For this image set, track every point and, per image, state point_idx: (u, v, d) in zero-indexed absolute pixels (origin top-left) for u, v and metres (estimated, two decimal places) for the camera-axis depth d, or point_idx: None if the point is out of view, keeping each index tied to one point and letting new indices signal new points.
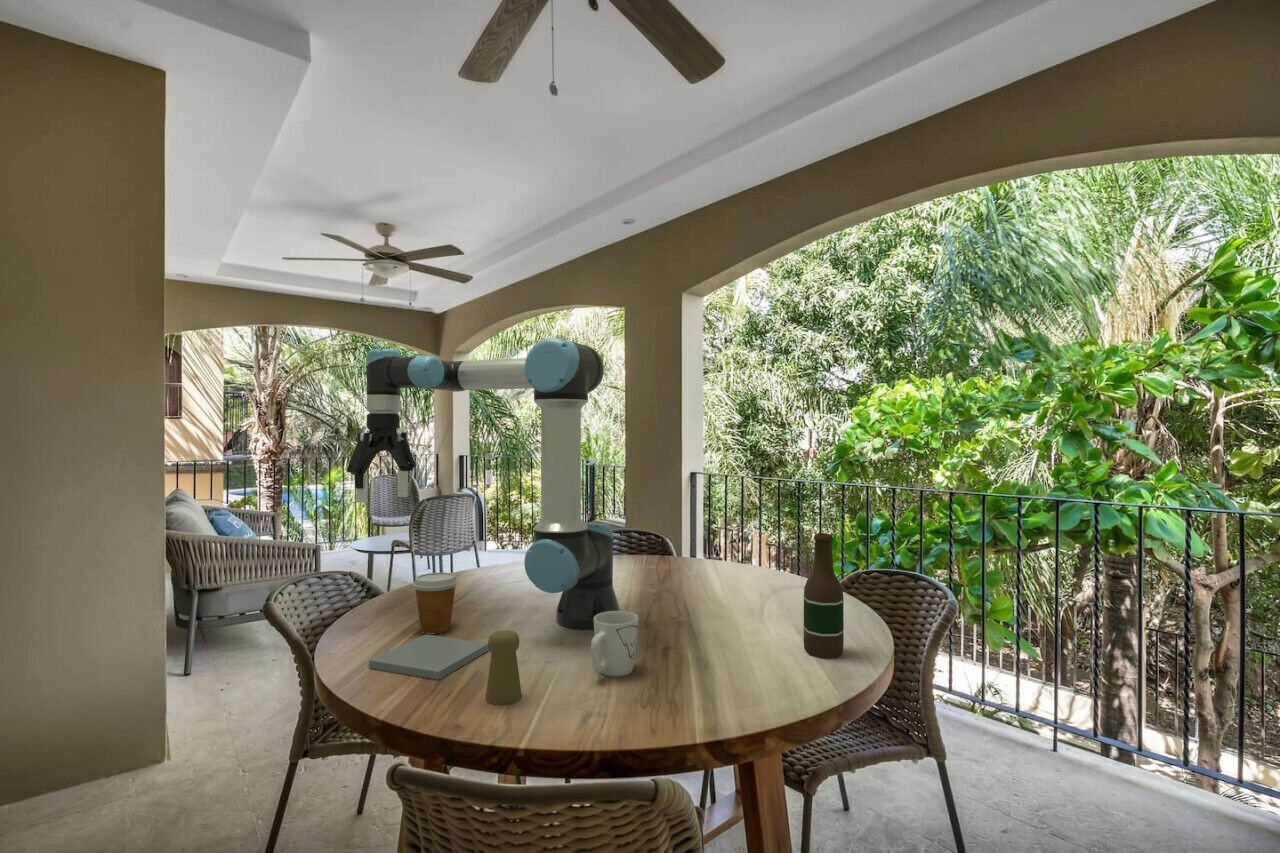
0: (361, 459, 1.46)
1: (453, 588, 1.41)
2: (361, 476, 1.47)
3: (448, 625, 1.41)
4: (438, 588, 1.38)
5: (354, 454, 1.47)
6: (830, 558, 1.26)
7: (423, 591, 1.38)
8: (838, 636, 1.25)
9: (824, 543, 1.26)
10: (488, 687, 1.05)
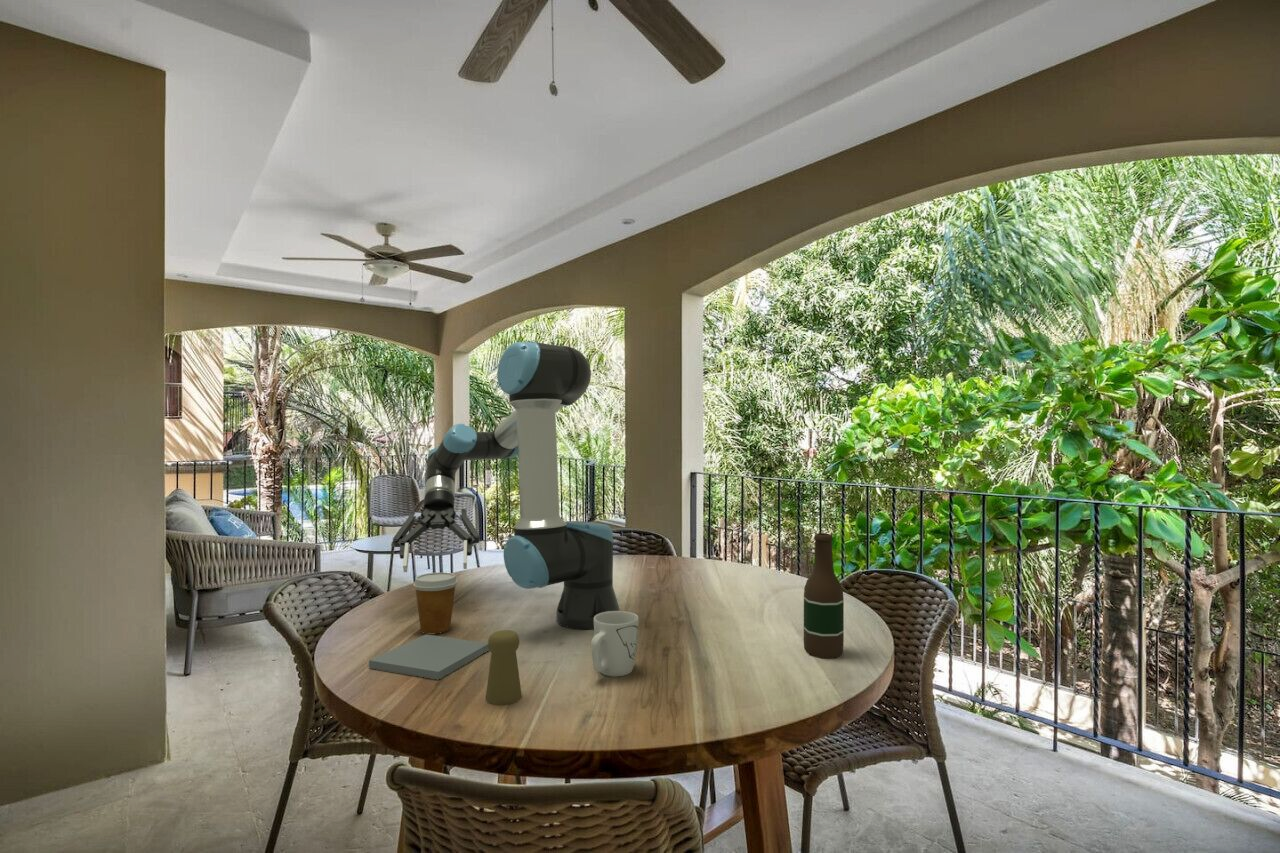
0: (402, 530, 1.54)
1: (453, 588, 1.41)
2: (402, 545, 1.52)
3: (448, 625, 1.41)
4: (438, 588, 1.38)
5: None
6: (830, 558, 1.26)
7: (423, 591, 1.38)
8: (838, 636, 1.25)
9: (824, 543, 1.26)
10: (488, 687, 1.05)
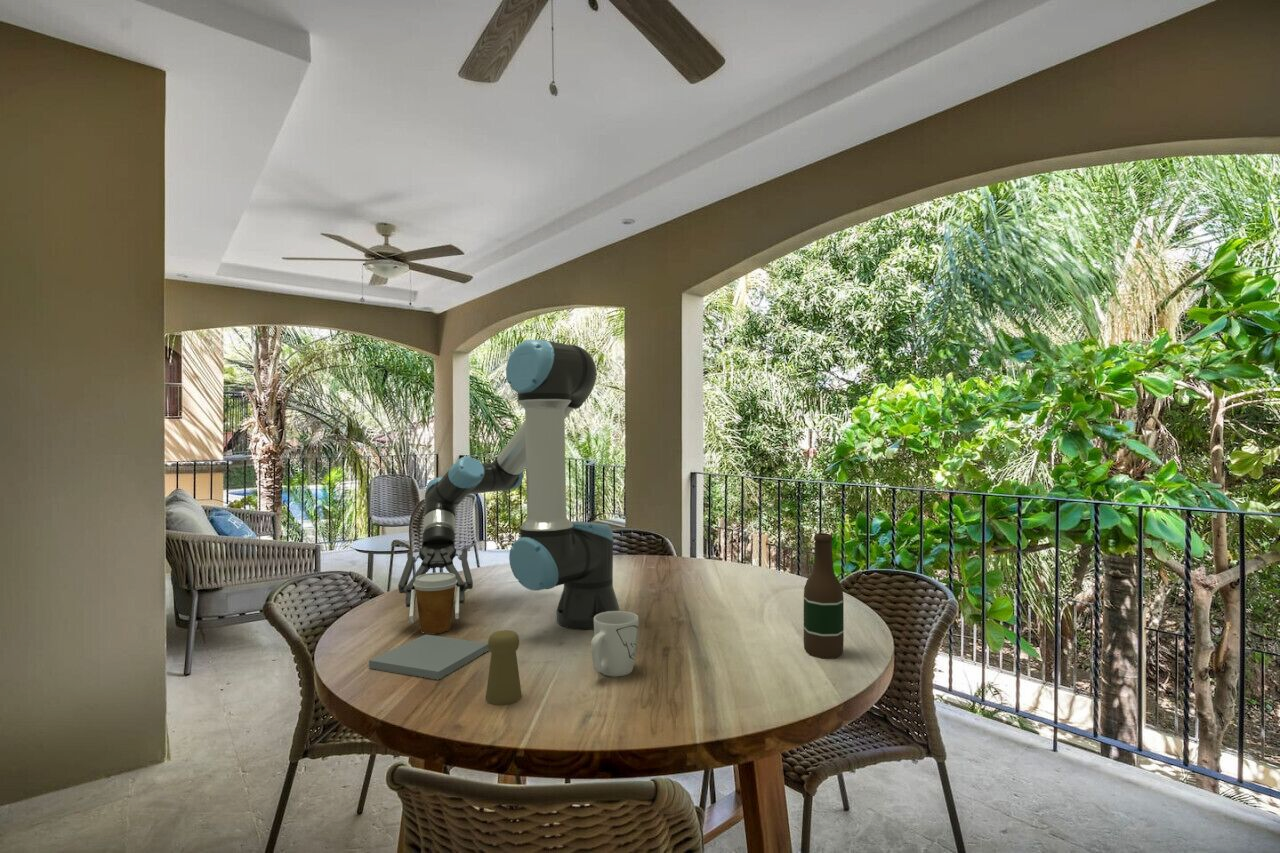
0: (405, 575, 1.43)
1: (453, 588, 1.41)
2: (409, 592, 1.41)
3: (448, 625, 1.41)
4: (438, 588, 1.38)
5: None
6: (830, 558, 1.26)
7: (423, 591, 1.38)
8: (838, 636, 1.25)
9: (824, 543, 1.26)
10: (488, 687, 1.05)
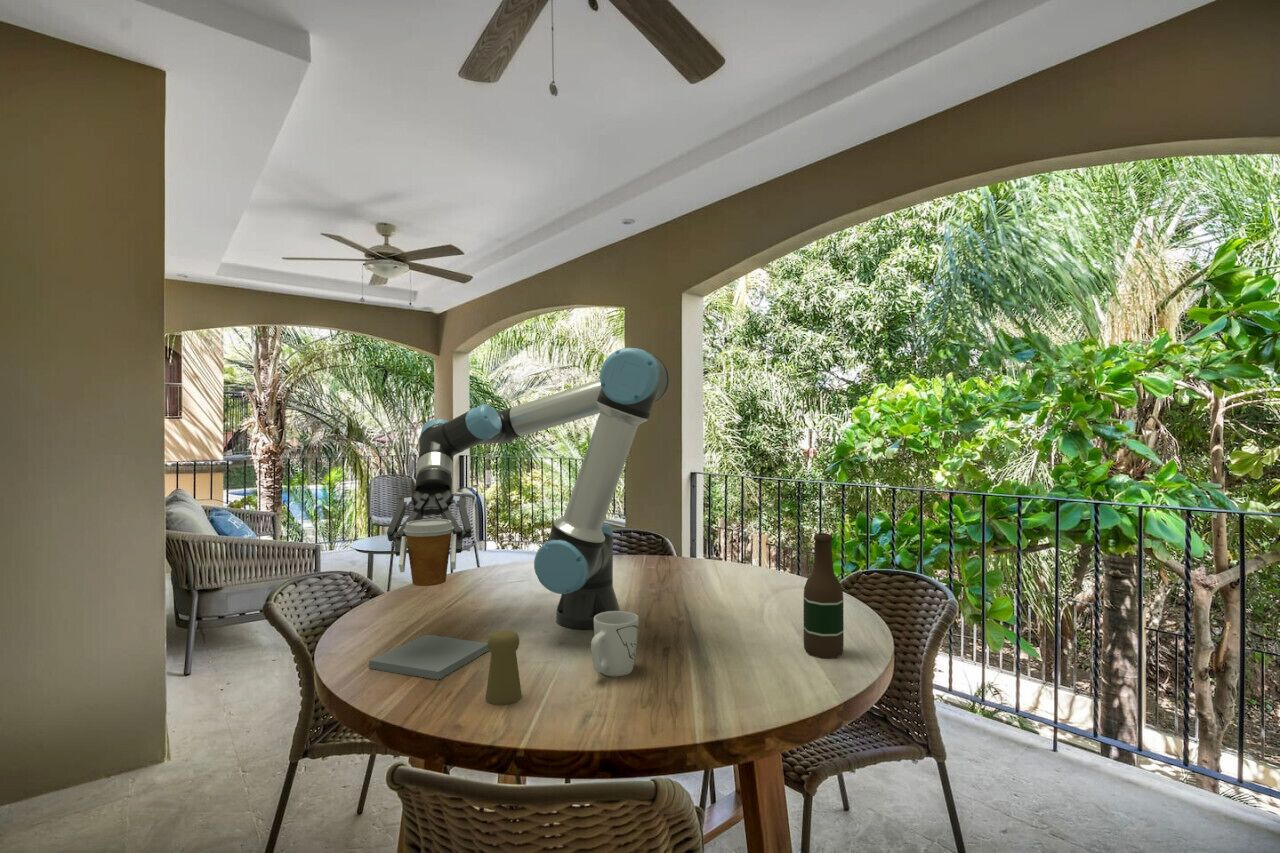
0: (395, 521, 1.27)
1: (449, 535, 1.24)
2: (399, 539, 1.24)
3: (443, 577, 1.24)
4: (431, 533, 1.21)
5: None
6: (830, 558, 1.26)
7: (414, 537, 1.21)
8: (838, 636, 1.25)
9: (824, 543, 1.26)
10: (488, 687, 1.05)
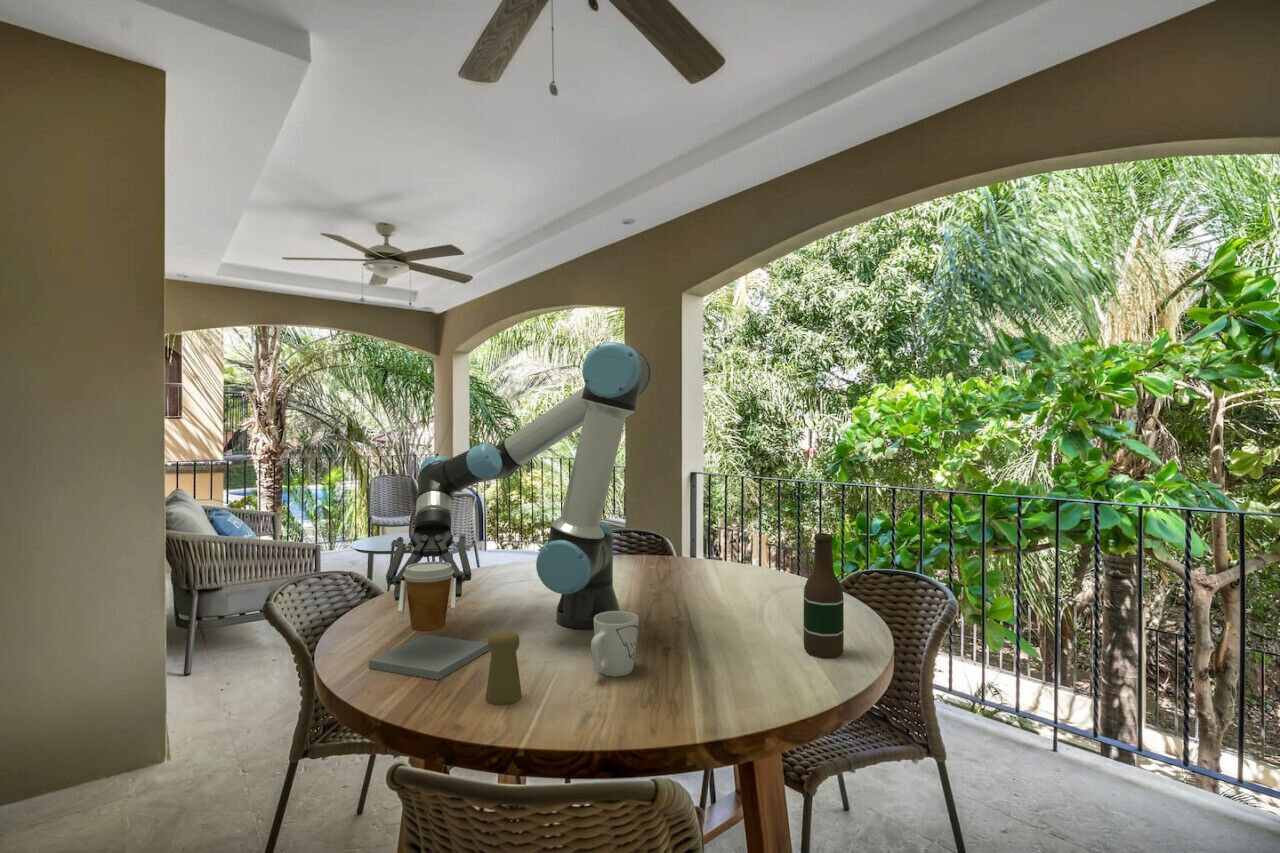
0: (394, 564, 1.26)
1: (449, 579, 1.24)
2: (398, 583, 1.23)
3: (443, 621, 1.23)
4: (432, 579, 1.20)
5: None
6: (830, 558, 1.26)
7: (414, 582, 1.20)
8: (838, 636, 1.25)
9: (824, 543, 1.26)
10: (488, 687, 1.05)
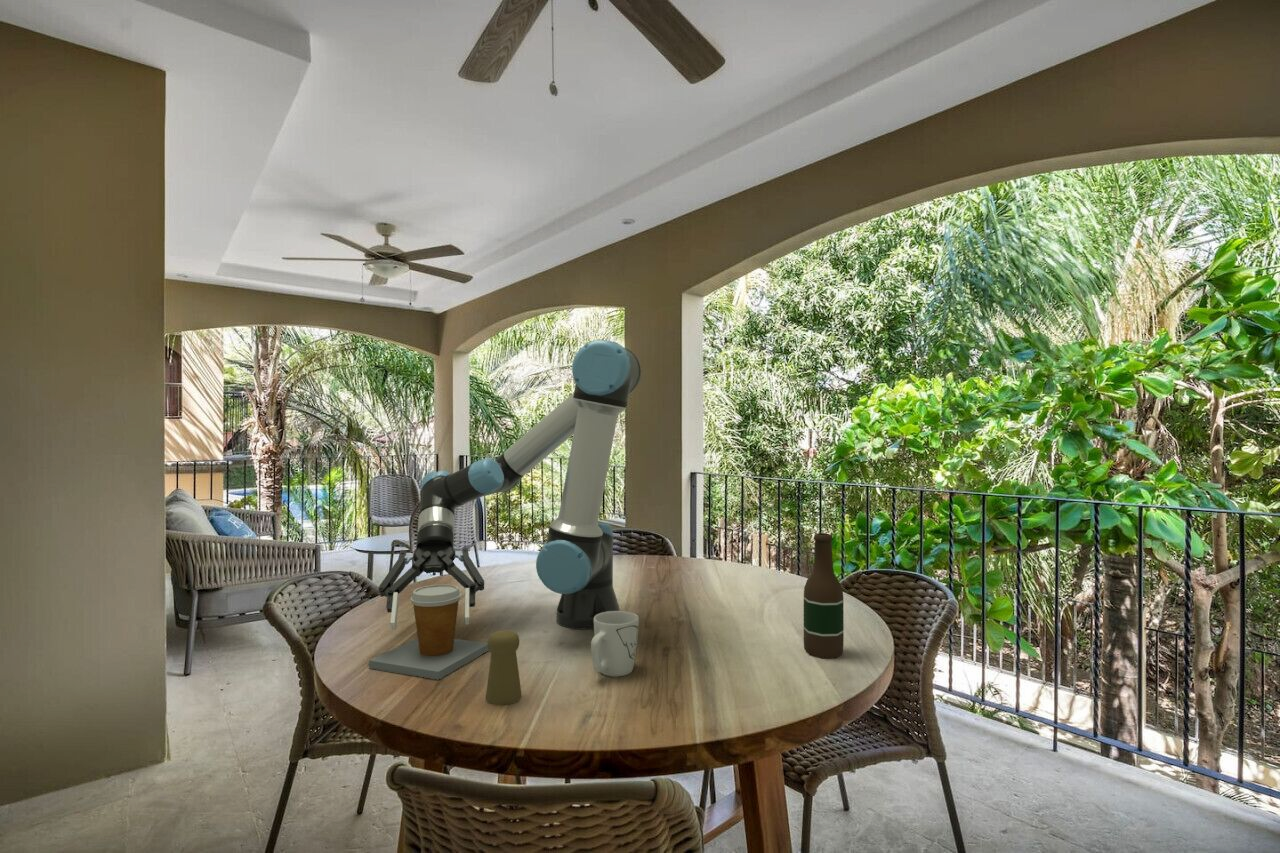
0: (389, 576, 1.26)
1: (456, 603, 1.24)
2: (390, 595, 1.24)
3: (451, 645, 1.24)
4: (439, 603, 1.20)
5: None
6: (830, 558, 1.26)
7: (422, 607, 1.20)
8: (838, 636, 1.25)
9: (824, 543, 1.26)
10: (488, 687, 1.05)
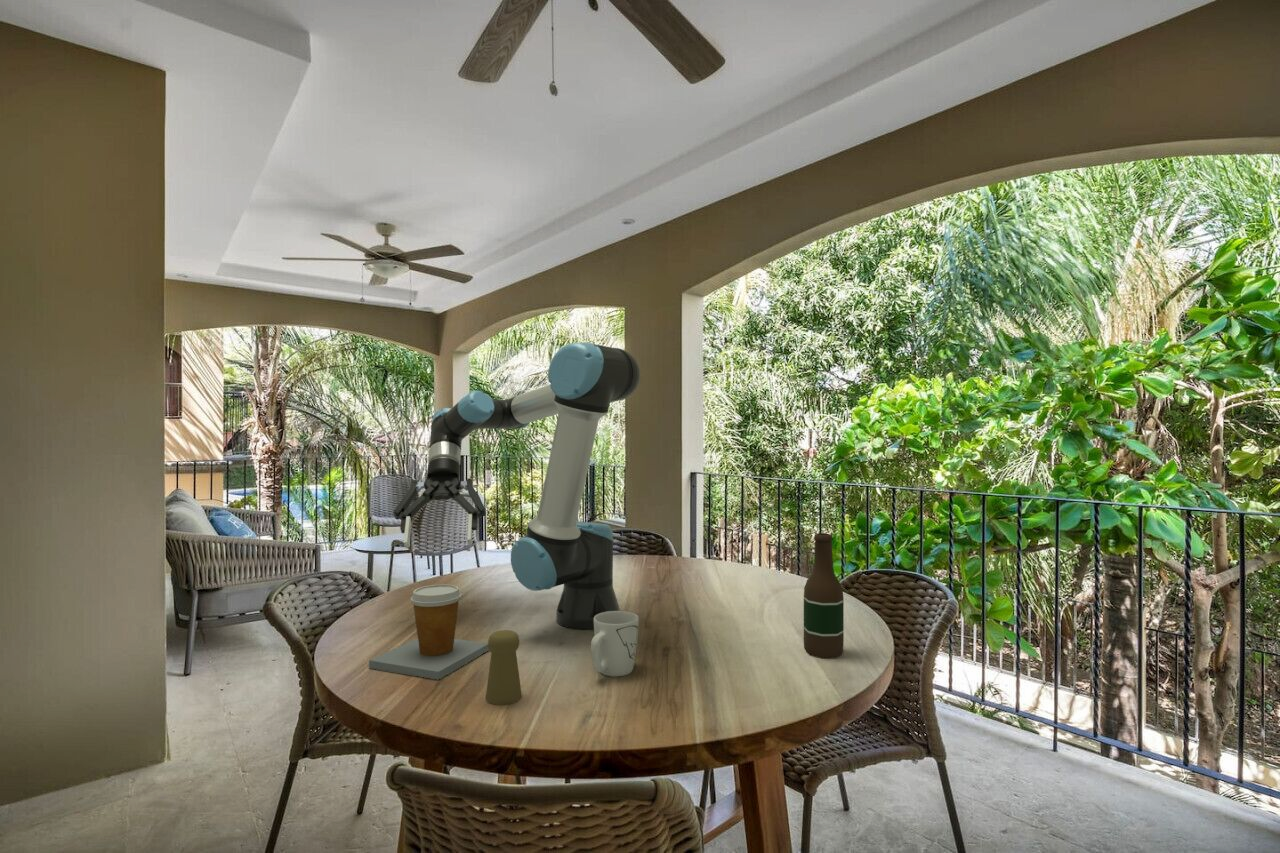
0: (403, 502, 1.44)
1: (456, 603, 1.24)
2: (404, 519, 1.42)
3: (451, 645, 1.24)
4: (440, 603, 1.20)
5: None
6: (830, 558, 1.26)
7: (422, 607, 1.20)
8: (838, 636, 1.25)
9: (824, 543, 1.26)
10: (488, 687, 1.05)
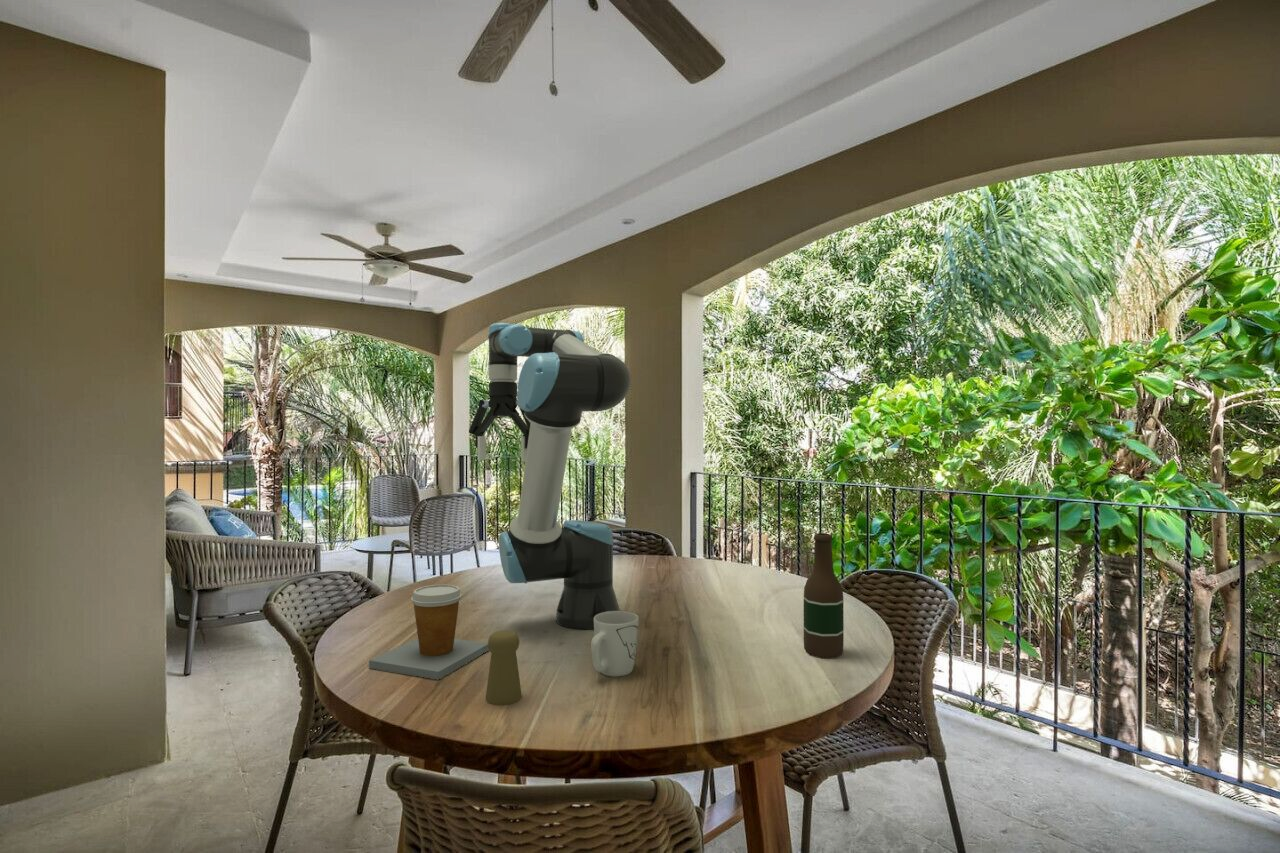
0: (474, 422, 1.71)
1: (457, 603, 1.24)
2: (477, 437, 1.71)
3: (451, 645, 1.24)
4: (440, 603, 1.20)
5: None
6: (830, 558, 1.26)
7: (422, 607, 1.20)
8: (838, 636, 1.25)
9: (824, 543, 1.26)
10: (488, 687, 1.05)
